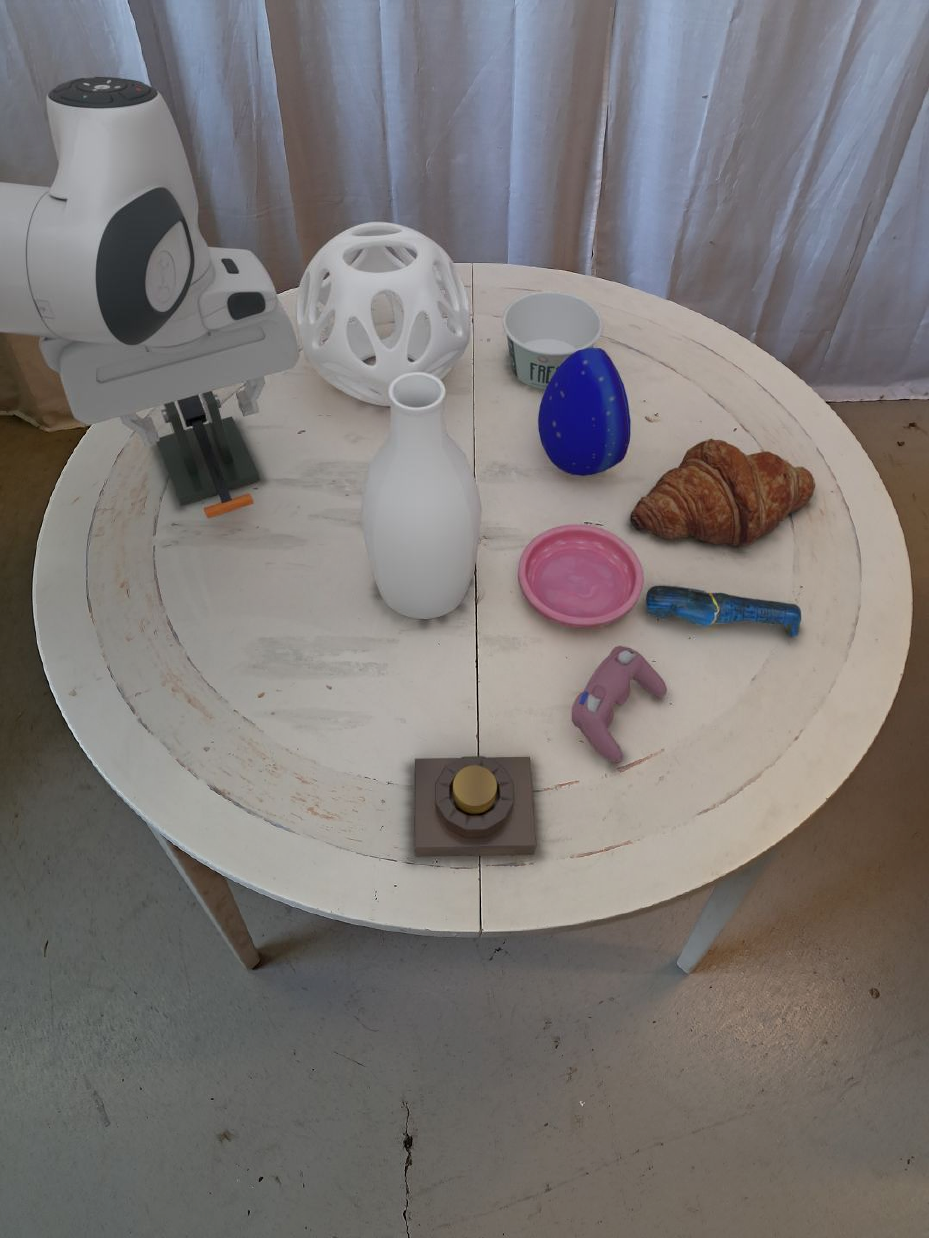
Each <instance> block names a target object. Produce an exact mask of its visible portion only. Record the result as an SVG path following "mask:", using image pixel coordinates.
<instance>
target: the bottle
mask: <svg viewBox="0 0 929 1238" xmlns="http://www.w3.org/2000/svg"><path fill="white" fill-rule="evenodd" d="M446 395H447V391H446V387H445V384H444V382H443V381H442V380H440V379H439V378H437V377H435V376H434V375H432V374H428V373H425V372H411V373H406V374H403V375H401V376H399V377H397V378H396V379H394V380H393V381H392V383H391V384H390V386H389V391H388V397H389V400H390V402H391V407H390V432H389V434H388V435H387V436H386V438H385V439H384V440H383V442H382V443H381V445H380V446H379V447H378V448H377V450H376V452H375V453H374V455H373V456H372V458H371V460H370V464H369V467H368V470H367V473H366V476H365V479H364V483H363V488H362V489H363V490H362V496H361V505H360V516H359V517H360V522H361V527H362V533H363V538H364V543H365V548H366V553H367V554H366V555H367V558H368V562H369V567H370V569H371V573H372V575H373V578H374V581H375V583H376V587H377V589H378V592H379V594H380V597H381V598H382V600H383V601H384V602H385V604H386V605H387V607H389V608H390V609H391V610H393V611H394V612H395V613H397V614H399V615H400V616H401V615H402V616H404V617H408V618H411V619H416V620H429V619H435V618H441V617H443V616H445V615H447V614H449V613H451V612H453V611H454V610H455V609H456V608H458V606H460V604H461V603H462V602H464V600H465V597H466V595H467V594H468V591H469V588H470V586H471V585H470V584H471V581H472V577H473V574H474V570H475V566H476V564H477V559H478V549H479V542H480V534H481V533H480V531H481V523H482V512H483V508H482V503H481V497H480V491H479V487H478V484H477V480H476V477H475V475H474V473H473V470H472V468H471V464H470V463H469V460H468V458H467V456H466V453H465V451H464V450H463V449H462V447H460V446H459V444H458V443H457V442H456V441H455V440H454V439H453V437H451V435H450V434H449V432H448V431H447V427H446V412H445V400H446Z"/></svg>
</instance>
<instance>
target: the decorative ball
mask: <svg viewBox="0 0 929 1238" xmlns="http://www.w3.org/2000/svg"><path fill="white" fill-rule="evenodd" d="M387 247H389V248H391V249H392V250H393V251H394V252H395V253H396V254H397V255H398V257H399V258H400V259H401V260H402V261H401V260H400V259H398V258H397V257H396V256H395V255H394V254H392V253H391V252H390V251H389V250H388V248H387ZM407 249H409V250H411V251H413V252H414V253H415V254H416V257H414V256H413V255H412V254H410V252H409V251H408V250H407ZM360 250H362V251H361V252H360V254H359V255H358V253H359V251H360ZM357 255H358V256H357ZM356 256H357V257H356ZM355 258H356V259H355ZM434 267H435V268H436V269H437V271H438V273H437V272H436V271H435V268H434ZM327 273H329V275H328V276H327V277H326V275H327ZM325 277H326V278H325ZM297 288H298V289H297V294H296V300H295V321H296V329H297V334H298V339H299V342H300V343H299V344H300V347H301V349H302V352H303V354H304V356H305V358H306V360H307V361H308V363H309V364H310V365H311V367H312V368H313V369H314V370H315V371H316V373H317V374H318V375H320V376H321V378H323V379H324V380H325V381H326V382H328V383H329V384H330V385H332V386H333V387H334V388H335V389H338V390H339V391H341V392H342V393H344V394H347V395H348V396H350V397H352V398H355V399H356V400H359V401H360V402H361V401H362V402H365V403H367V404H372V405H375V406H380V407H381V406H382V407H390V408H391V402H390V400H389V397H388V391H389V386H390V384H391V383H392V381H393V380H394V379H396V378H397V377H399V376H401V375H403V374H406V373H411V372H425V373H428V374H432V375H434V376H435V377H437V378H439V379H440V380H441V381H442V380H443V379H444V378H445V377H446V376H447V375H448V374H449V373H450V372H451V371H452V370H453V369H454V368H455V366H456V365H457V364H458V362H459V361H460V359H461V358H462V356H463V355H464V353H465V351H466V349H467V347H468V345H469V343H470V338H471V325H472V324H471V309H470V302H469V298H468V294H467V289H466V286H465V284H464V281H463V278H462V276H461V273H460V272H459V270H458V268H457V266H456V264H455V263H454V261H453V259H452V258H451V257H450V256H449V254H448V253H447V252H446V250H445V249H444V248H442V247H441V246H440V245H439V244H438V243H436V242H435V241H434V240H433V239H431V238H430V237H428V236H427V235H424V234H423V233H421V232H420V231H417V230H416V229H413V228H410V227H408V226H405V225H402V224H397V223H393V222H388V221H387V222H385V221H371V222H370V221H369V222H364V223H361V224H357V225H355V226H352V227H350V228H348V229H345V230H344V231H342V232H340V233H338V234H337V235H335V236H334V237H333V238H331V239H330V240H329V241H328V242H326V243H325V244H324V245H323V246H322V247H321V248H320V249H319V250H318V251H317V252H316V253H315V255H314V256H313V257H312V259H311V260H310V262H309V264H308V265H307V267H306V269H305V271H304V272H303V275H302V277H301V279H300V282H299V285H298V287H297ZM442 291H444V294H443V292H442ZM381 293H383V294H384V295H385V297H386V298H387V300H388V302H389V304H390V307H391V310H392V315H393V321H394V323H393V324H394V325H393V326H394V327H393V330H392V332H391V333H390V335H389V336H387V337H385V338H380V337H379V335H378V333H377V329H376V327H375V325H374V319H373V314H372V306H373V302H374V300H375V298H376V297H377V296H378V295H379V294H381ZM396 296H397V297H398V299H399V301H400V303H401V306H400V304H399V302H398V300H397V297H396ZM318 302H319V303H321V304H322V306H324V307H323V310H322V311H321V310H320V309H319V308H318ZM401 307H402V308H401ZM444 316H446V318H447V322H445V320H444V318H443V317H444ZM332 318H333V320H334V321H333V323H331V319H332ZM353 318H354V320H353V321H351V320H352V319H353ZM324 331H325V332H326V333H327V334H328V338H327V340H326V341H325V342H324V340H323V338H322V335H323V332H324ZM373 357H375V363H374V364H373V365H371V364H368V363H365V362H364V361H365V360H367V359H370V358H373ZM409 359H410V360H412V361H410V360H409Z"/></svg>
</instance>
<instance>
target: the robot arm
mask: <svg viewBox="0 0 929 1238" xmlns="http://www.w3.org/2000/svg"><path fill="white" fill-rule="evenodd" d="M45 99H46V111H47V112H46V113H47V118H48V124H49V129H50V133H51V138H52V142H53V147H54V150H55V155H56V158H57V162H58V166H57V171H56V175H55V178H54V181H53V182H52V184H51V186H42V185H32V184H23V183H14V182H4V181H0V333H7V334H14V335H22V336H30V337H39V340H38V349H39V350H40V353H41V355H42V358H43V360H44V362H45V364H46V365H47V366H48V367H49V368H50V369H51V370H52V371H54V372H56V373H58V374H59V377H60V381H61V384H62V388H63V391H64V394H65V397H66V401H67V403H68V406H69V408H70V411H71V414H72V416H73V418H74V419H75V420H76V421H78V422H79V423H83V424H85V425H87V426H90V425H95V424H99V423H102V422H106V421H109V420H113V419H117V418H120V420H121V423H122V424H123V425H124V426H126V427H127V428H128V429H130V430H132V431H134V432H135V433H137V434H139V435H140V438H141V440H142V443H143V445H144V447H146V446H149V445H152V444H156V442H159V441H160V439H159V438H160V436H159V434H158V430H157V428H156V426H155V423H154V421H153V418H152V417H151V416H149V417H145V418H142V417H140V416H139V415H138V414H137V413H138V412H142V411H146V410H149V409H152V408H156V407H159V406H164V405H163V404H167V403H170V402H174V403H175V402H177V400H181V399H185V398H188V397H192V396H195V395H200V394H202V393H206V392H210V391H212V392H213V391H217V390H220V389H224V388H227V387H230V386H235V385H237V384H242V383H245V382H246V383H245V386H244V388H243V390H240V391H236V392H235V395H236V399H237V403H238V407H239V409H240V412H241V413H242V416H243V417H248V416H252V415H255V414H259V413H260V410H259V406H258V399H259V398H260V396H261V393H262V392H263V389H264V387H265V385H266V381H265V377H266V376H270V375H274V374H277V373H280V372H285V371H288V370H291V369H293V368H294V367H295V366H296V365H297V363H298V361H299V359H300V357H301V354H300V348H299V344H298V339H297V335H296V332H295V329H294V327H293V324H292V321H291V319H290V317H289V315H288V313H287V311H286V310H285V308H284V306H283V305H282V303H281V301H280V299H279V298H278V294H277V291H276V287H275V285H274V282H273V280H272V278H271V276H270V275H269V273H268V271H267V269H266V268H265V266H264V265H263V264H262V262H261V260H260V259H259V258H258V257H257V256H256V255H255V254H254V252H252V251H251V250H249V249H244V248H243V249H242V248H229V247H215V246H209V245H208V244H207V242H206V240H205V239H204V237H203V235H202V233H201V230H200V226H199V210H200V209H199V201H198V196H197V192H196V187H195V183H194V179H193V175H192V172H191V168H190V165H189V161H188V158H187V155H186V152H185V149H184V144H183V143H182V139H181V136H180V133H179V131H178V127H177V126H176V122H175V120H174V116H173V115H172V114H171V111H170V109H169V107H168V105H167V103H166V101H165V99H164V98H163V96H162V94H161V93H160V92H159V91H158V90H157V89H156V88H154V87H152V86H150V85H148V84H146V83H144V82H142V81H140V80H135V79H128V78H122V77H121V78H120V77H112V76H108V77H107V76H93V77H79V78H75V79H70V80H67V81H64V82H61V83H60V84H58V85H57V86H55V87H54V88H53V89H51V90H50V91H48V93H47V95H46V98H45Z"/></svg>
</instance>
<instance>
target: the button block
mask: <svg viewBox="0 0 929 1238" xmlns="http://www.w3.org/2000/svg"><path fill="white" fill-rule="evenodd" d="M471 765H478V766H482V767H485V768H487V769H488V770H489V771H491V772H492V774H493V775H494V777H495V779H496V782H497V792H496V799H495V802H494V804H493V805H492V806H491V808H489V809H488V810H487V811H485V812H483V813H479V814H471V813H467V812H464V811H463V810H461V809H460V808H459V807H458V806H457V805H456V803H455V801H454V799H453V781H454V778H455V776H456V774H457V773H458V772H459V771H460V770H461V769H463V768H465V767H467V766H471ZM531 766H532V765H531V757H530V756H497V757H495V756H493V757H491V756H489V757H486V756H483V755H479V756H476V755H474V756H461V757H438V758H437V757H436V758H435V757H433V758H430V757H429V758H414V822H413V823H414V825H413V826H414V832H413V833H414V835H413V836H414V837H413V839H414V840H413V841H414V842H413V846H414V847H413V848H414V856H415V857H416V858H421V857H423V858H424V857H426V858H427V857H428V858H429V857H472V856H474V857H475V856H476V857H477V856H480V857H481V856H523V855H525V856H526V855H527V856H528V855H531V856H532V855H535V852H536V849H537V834H536V820H535V819H536V818H535V807H534V795H533V794H534V792H533V780H532V767H531Z"/></svg>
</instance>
